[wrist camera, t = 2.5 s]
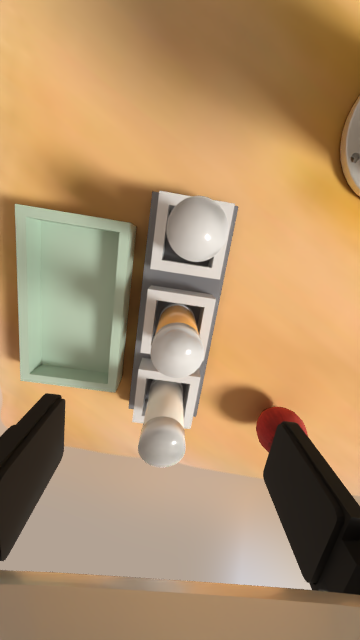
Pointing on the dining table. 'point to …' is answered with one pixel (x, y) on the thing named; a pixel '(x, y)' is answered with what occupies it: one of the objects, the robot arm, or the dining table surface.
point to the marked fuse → (177, 342)
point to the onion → (274, 424)
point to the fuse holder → (175, 287)
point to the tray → (72, 297)
